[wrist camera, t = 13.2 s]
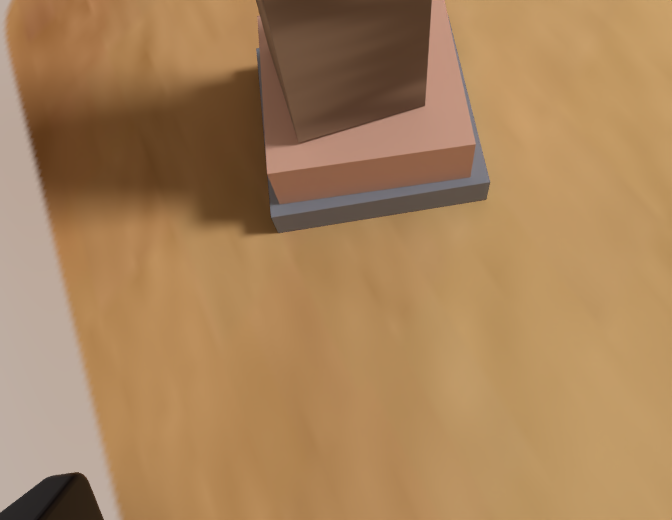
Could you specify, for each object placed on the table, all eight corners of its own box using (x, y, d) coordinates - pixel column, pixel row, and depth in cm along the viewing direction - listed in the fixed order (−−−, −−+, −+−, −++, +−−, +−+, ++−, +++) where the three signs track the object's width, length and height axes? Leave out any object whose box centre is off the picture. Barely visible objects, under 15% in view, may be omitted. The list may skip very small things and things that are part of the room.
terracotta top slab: (439, 28, 26) (441, -14, 24) (470, 177, 23) (475, 144, 21) (269, 55, 26) (257, 16, 24) (279, 204, 23) (267, 174, 21)
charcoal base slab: (445, 51, 28) (447, 14, 26) (484, 210, 25) (489, 182, 23) (267, 82, 28) (256, 48, 26) (282, 242, 25) (271, 217, 23)
